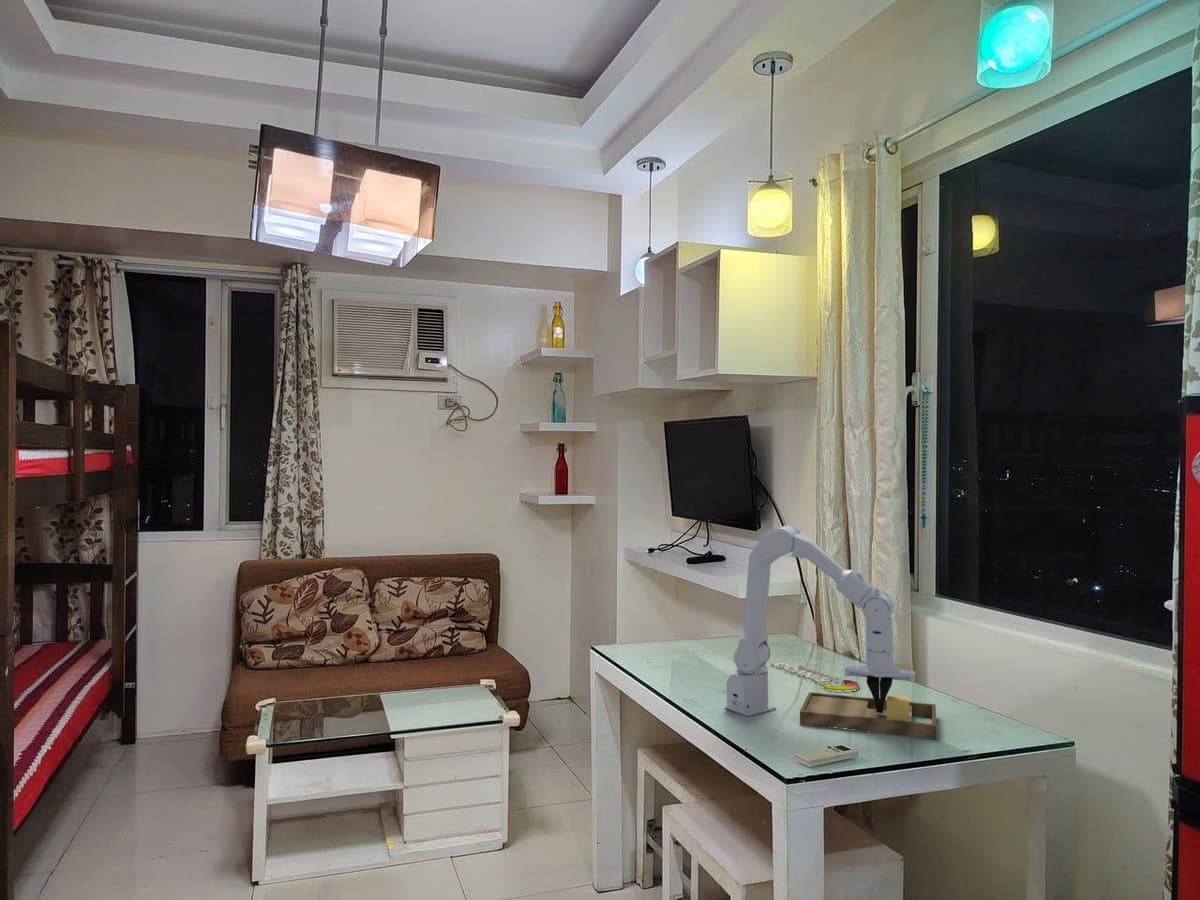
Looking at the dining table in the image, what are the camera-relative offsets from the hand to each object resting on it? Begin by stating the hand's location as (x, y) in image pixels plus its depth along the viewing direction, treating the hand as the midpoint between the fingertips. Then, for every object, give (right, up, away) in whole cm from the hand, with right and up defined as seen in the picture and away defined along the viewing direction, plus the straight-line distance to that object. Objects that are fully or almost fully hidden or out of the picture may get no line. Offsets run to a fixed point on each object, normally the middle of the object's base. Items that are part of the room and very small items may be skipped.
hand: (879, 711), depth 180 cm
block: (+4, -1, -1) cm, 4 cm away
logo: (-4, -4, +39) cm, 40 cm away
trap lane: (-1, -3, +4) cm, 5 cm away
